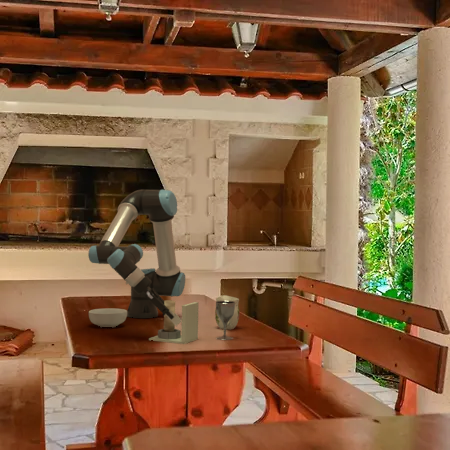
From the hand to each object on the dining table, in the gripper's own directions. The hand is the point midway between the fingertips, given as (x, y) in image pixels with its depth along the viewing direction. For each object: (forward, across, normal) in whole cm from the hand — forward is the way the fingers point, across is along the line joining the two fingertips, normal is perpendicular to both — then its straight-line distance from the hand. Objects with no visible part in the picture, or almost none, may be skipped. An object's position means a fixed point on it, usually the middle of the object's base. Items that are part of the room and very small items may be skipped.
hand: (178, 322), depth 280 cm
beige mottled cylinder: (0, 0, -6) cm, 6 cm away
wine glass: (+18, -4, +8) cm, 20 cm away
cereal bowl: (-18, -29, -28) cm, 44 cm away
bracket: (+3, +1, -6) cm, 7 cm away
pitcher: (+20, -27, +10) cm, 35 cm away
